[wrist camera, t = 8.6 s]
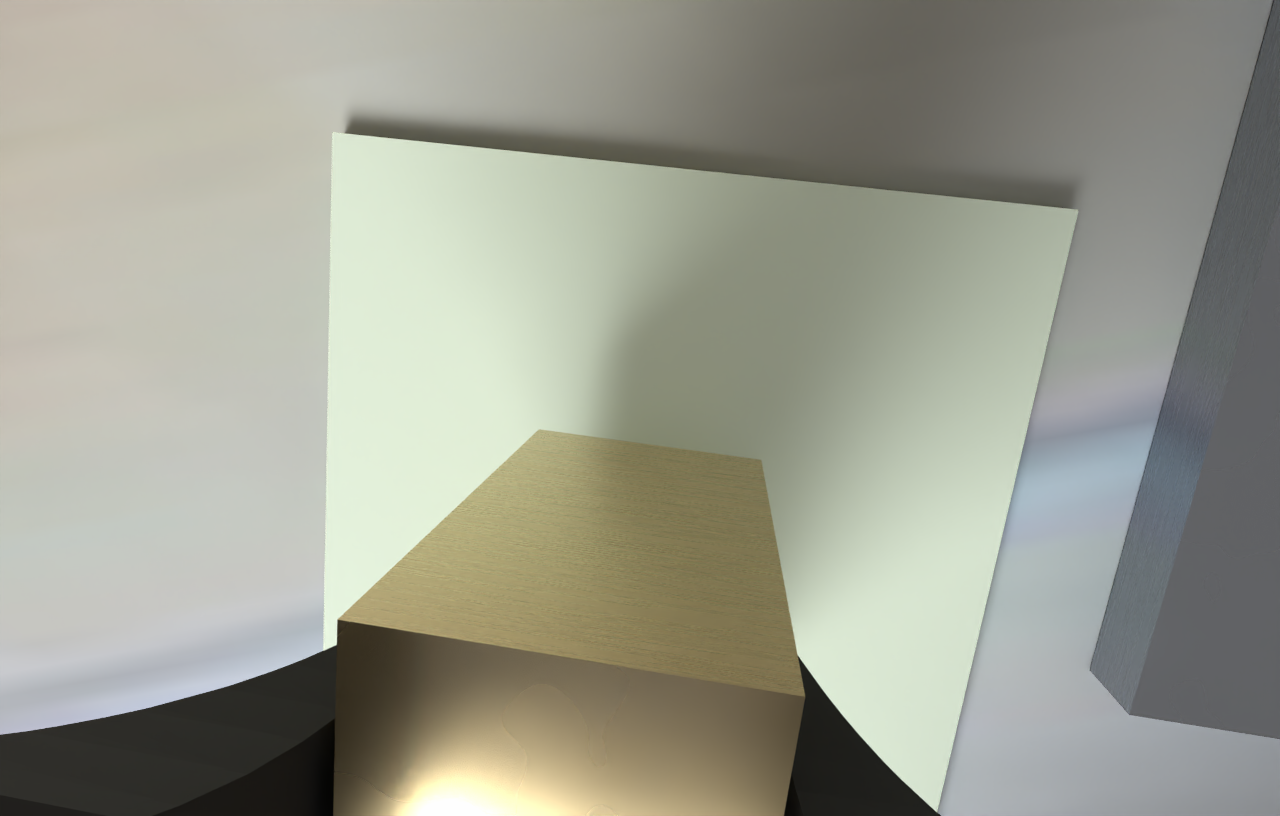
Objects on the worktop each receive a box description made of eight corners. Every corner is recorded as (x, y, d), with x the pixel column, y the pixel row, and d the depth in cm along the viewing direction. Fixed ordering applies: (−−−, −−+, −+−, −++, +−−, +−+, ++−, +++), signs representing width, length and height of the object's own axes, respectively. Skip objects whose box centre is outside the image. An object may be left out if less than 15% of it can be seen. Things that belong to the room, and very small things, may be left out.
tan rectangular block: (715, 755, 14) (708, 1230, 7) (514, 720, 14) (326, 1141, 8) (761, 459, 13) (806, 697, 6) (539, 429, 13) (336, 619, 6)
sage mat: (903, 921, 17) (907, 937, 16) (328, 813, 18) (320, 825, 18) (1068, 211, 13) (1079, 210, 13) (342, 135, 14) (331, 132, 14)
